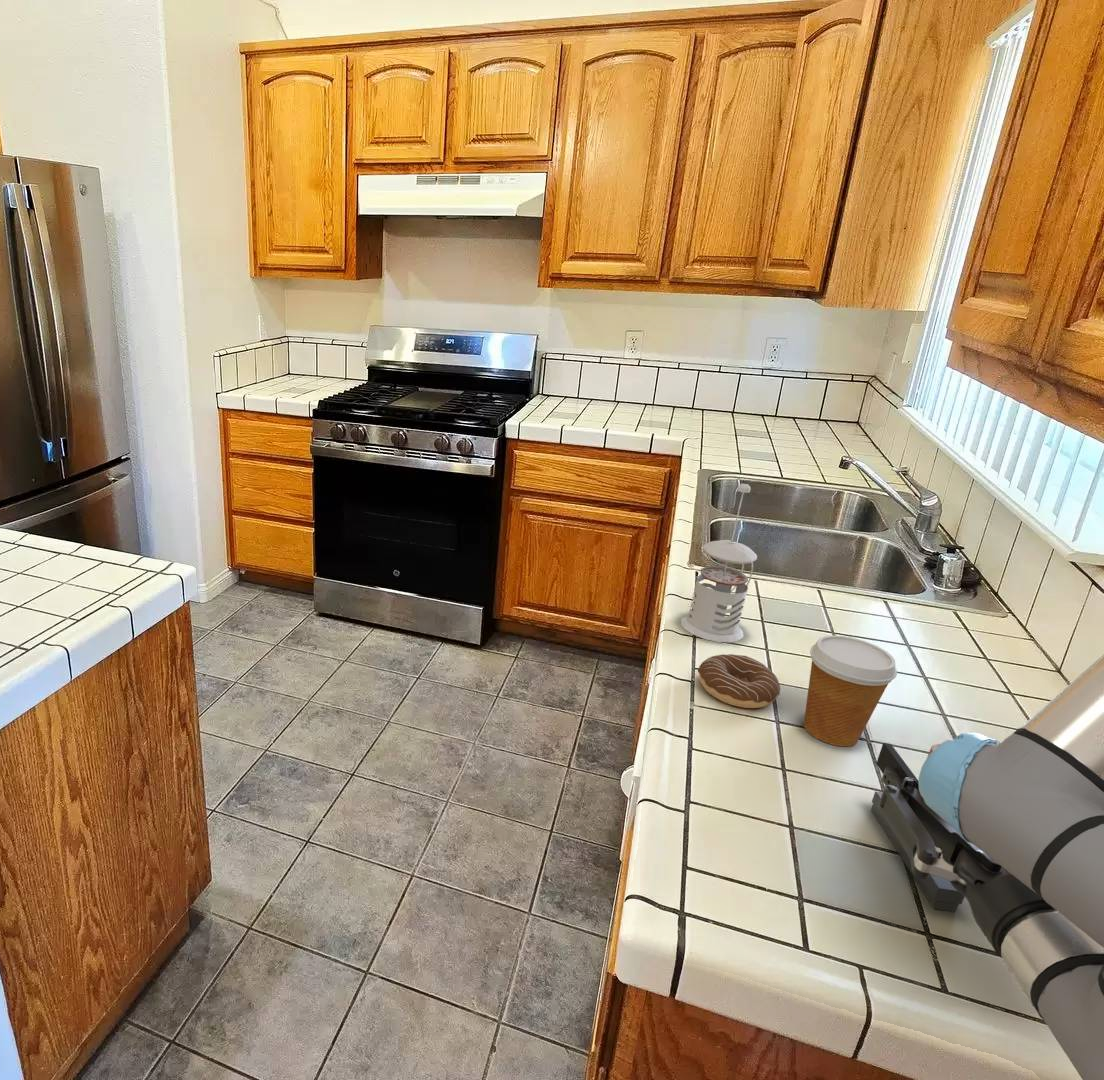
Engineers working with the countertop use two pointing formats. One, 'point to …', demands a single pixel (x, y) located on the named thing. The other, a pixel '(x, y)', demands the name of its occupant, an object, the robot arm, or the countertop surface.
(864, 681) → the disposable coffee cup
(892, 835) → the squeegee
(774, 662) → the countertop surface
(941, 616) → the countertop surface
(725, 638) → the french press
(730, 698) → the donut
